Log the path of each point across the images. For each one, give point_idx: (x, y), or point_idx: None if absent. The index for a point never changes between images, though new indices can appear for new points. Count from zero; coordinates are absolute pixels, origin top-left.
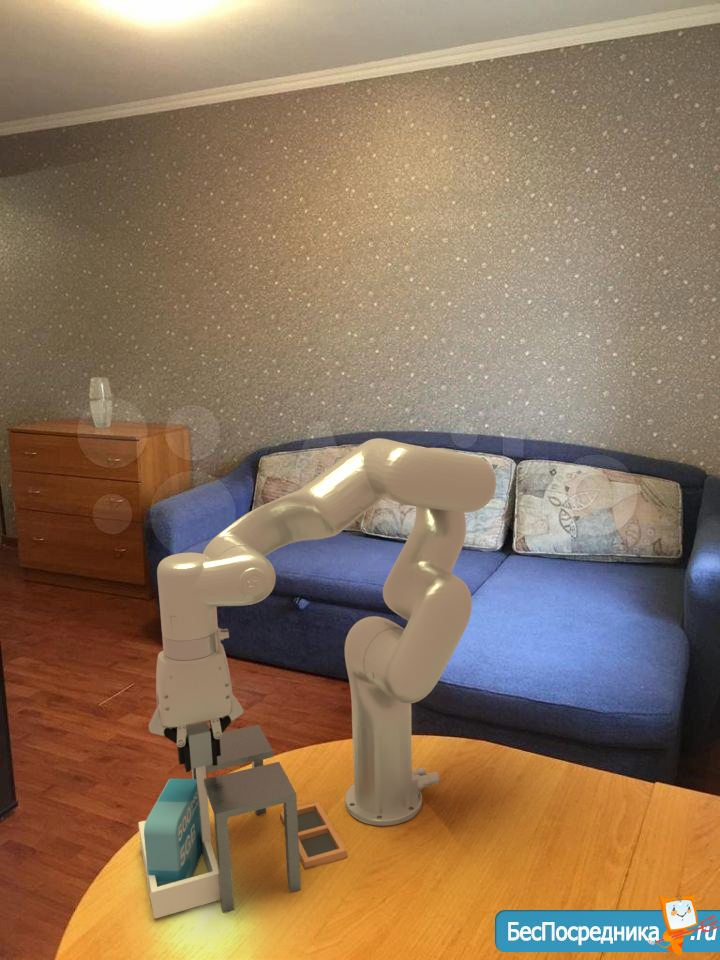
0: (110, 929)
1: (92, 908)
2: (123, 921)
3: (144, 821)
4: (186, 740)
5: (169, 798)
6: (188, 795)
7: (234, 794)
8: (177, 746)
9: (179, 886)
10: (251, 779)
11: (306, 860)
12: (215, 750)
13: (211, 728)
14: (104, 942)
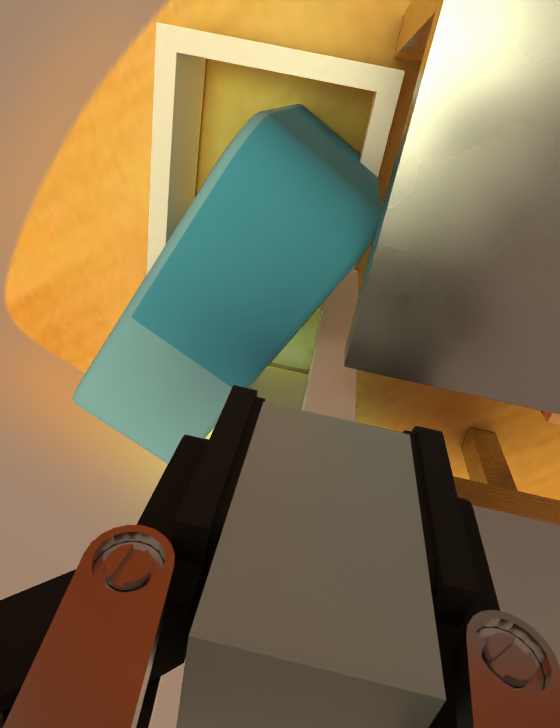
0: (82, 315)
1: (44, 225)
2: (109, 309)
3: (179, 34)
4: (179, 658)
5: (182, 329)
6: (265, 358)
7: None
8: (147, 509)
9: None
10: (506, 589)
11: (556, 419)
12: None
13: (446, 706)
14: (69, 341)
